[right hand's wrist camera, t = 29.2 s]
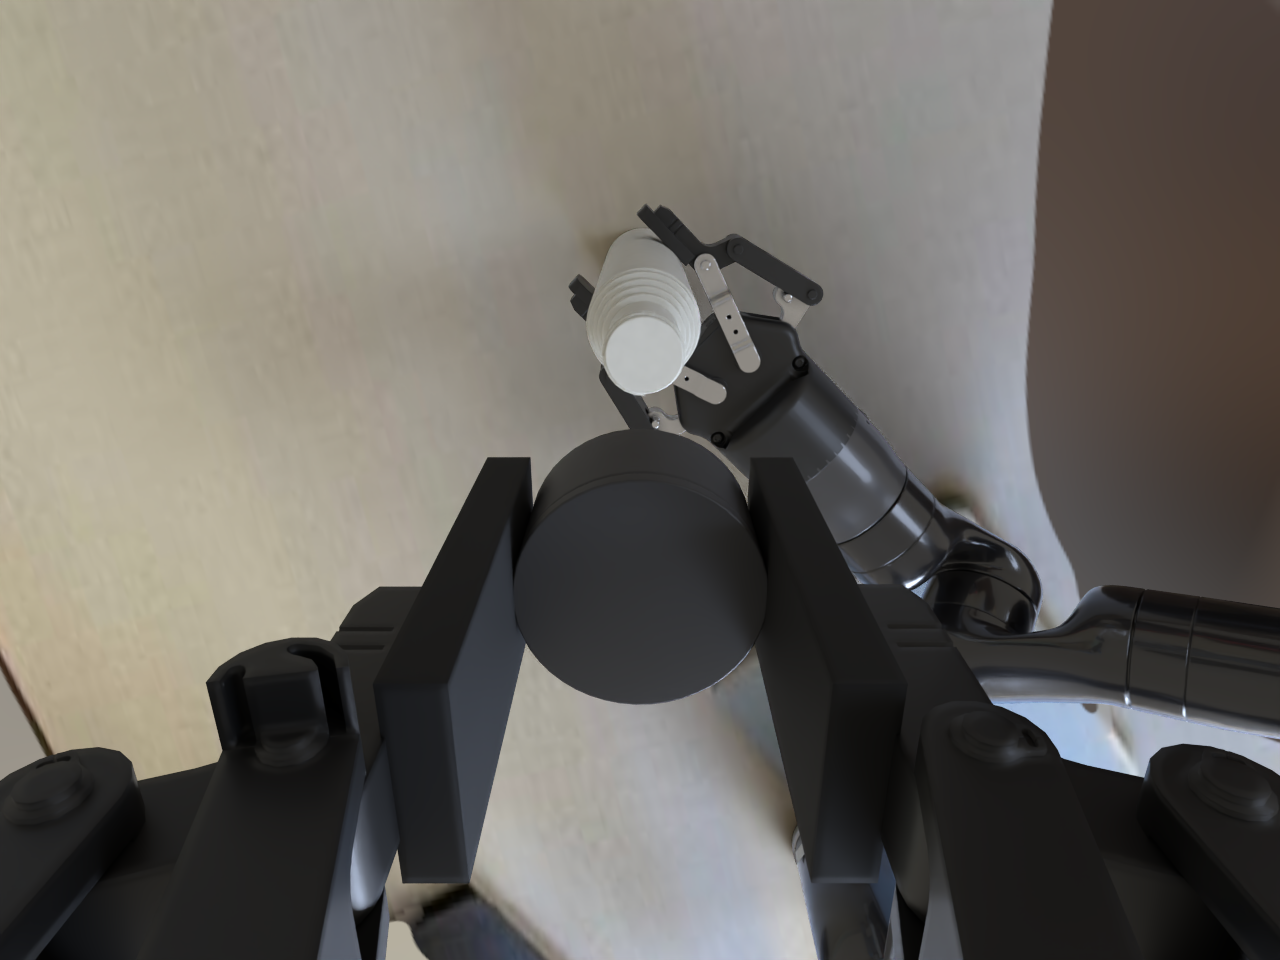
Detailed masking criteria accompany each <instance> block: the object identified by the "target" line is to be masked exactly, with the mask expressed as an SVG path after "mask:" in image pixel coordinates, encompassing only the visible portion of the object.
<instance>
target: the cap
mask: <svg viewBox="0 0 1280 960" xmlns="http://www.w3.org/2000/svg"><path fill="white" fill-rule="evenodd" d="M767 584H768V573H767V569H766V566H765V562H764V558H763V555H762V552H761V548H760V545H759V542H758V539H757V535H756V532H755V529H754V526H753V522H752V519H751V516H750V513H749V509H748V506H747V503H746V500H745V497H744V494H743V492H742V490H741V488H740V485H739V484H738V482H737V480H736V479H735V477H734V476H733V474H732V473H731V472H730V470H729V469H728V468H727V467H726V466H725V464H724V463H723V462H722V461H721V460H720V459H718V458H717V457H716V456H715V455H714V454H713V453H711V452H710V451H709V450H707V449H706V448H704V447H703V446H701V445H700V444H698V443H696V442H694V441H692V440H690V439H688V438H685V437H682V436H680V435H677V434H674V433H669V432H665V431H661V430H651V429H628V430H622V431H615V432H611V433H608V434H604V435H601V436H598V437H596V438H594V439H591V440H589V441H587V442H585V443H583V444H582V445H580V446H578V447H577V448H575V449H574V450H572V451H571V452H570V453H568V454H567V455H566V456H565V457H563V458H562V459H561V460H560V461H559V462H558V463H557V464H556V466H555V467H554V468H553V469H552V470H551V472H550V473H549V474H548V476H547V477H546V478H545V480H544V482H543V484H542V486H541V488H540V490H539V492H538V494H537V497H536V500H535V503H534V506H533V509H532V512H531V516H530V519H529V522H528V525H527V529H526V532H525V535H524V538H523V542H522V545H521V548H520V551H519V555H518V558H517V561H516V564H515V569H514V574H513V591H514V606H515V617H516V622H517V625H518V627H519V630H520V632H521V634H522V637H523V638H524V640H525V642H526V644H527V645H528V647H529V649H530V650H531V652H532V653H533V654H534V655H535V657H536V658H537V659H538V660H539V662H540V663H541V664H542V665H543V666H544V667H545V668H546V669H547V670H548V671H549V672H551V673H552V674H553V675H555V676H556V677H557V678H558V679H560V680H561V681H562V682H564V683H566V684H568V685H569V686H571V687H573V688H574V689H576V690H578V691H581V692H583V693H585V694H588V695H590V696H593V697H596V698H599V699H603V700H606V701H612V702H617V703H624V704H635V705H637V704H657V703H665V702H670V701H674V700H678V699H682V698H685V697H688V696H691V695H693V694H696V693H698V692H700V691H702V690H704V689H706V688H708V687H710V686H712V685H714V684H715V683H717V682H718V681H720V680H721V679H723V678H724V677H725V676H727V675H728V674H729V673H730V672H731V671H732V670H734V669H735V668H736V667H737V666H738V665H739V664H740V662H741V661H742V660H743V659H744V658H745V657H746V656H747V654H748V653H749V651H750V650H751V648H752V647H753V646H754V644H755V642H756V640H757V638H758V636H759V634H760V632H761V630H762V627H763V624H764V621H765V614H766V600H767Z"/></svg>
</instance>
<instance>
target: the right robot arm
mask: <svg viewBox="0 0 1280 960" xmlns="http://www.w3.org/2000/svg"><path fill="white" fill-rule="evenodd" d="M532 509H533V496H532V478H531V460H530V457H488V458H487V460H486V462H485V464H484V465H483V467H482V469H481V471H480V473H479V475H478V477H477V479H476V481H475V483H474V485H473V487H472V489H471V491H470V493H469V495H468V497H467V499H466V501H465V503H464V505H463V507H462V509H461V511H460V513H459V515H458V517H457V519H456V521H455V523H454V525H453V526H452V528H451V530H450V532H449V534H448V536H447V538H446V540H445V542H444V544H443V546H442V548H441V550H440V552H439V554H438V556H437V558H436V560H435V562H434V564H433V566H432V568H431V570H430V572H429V574H428V576H427V578H426V580H425V582H424V584H423V586H422V587H378V588H377V589H376V590H374V591H373V592H371V593H370V594H369V595H367V596H366V597H364V598H363V599H362V600H360V601H359V602H357V603H356V604H354V605H353V607H352V608H351V610H350V611H349V613H348V614H347V616H346V618H345V619H344V621H343V622H342V624H341V625H340V627H339V631H337V632H336V633H335V635H334V636H333V638H332V639H331V641H327V640H323V639H319V638H288V639H283V640H278V641H273V642H268V643H264V644H261V645H259V646H256V647H254V648H251V649H249V650H246V651H244V652H241V653H239V654H238V655H236V656H234V657H233V658H231V659H230V660H228V661H227V662H225V663H224V664H222V665H221V666H219V667H218V668H217V670H216V671H215V672H214V673H213V674H212V676H211V677H210V678H209V679H208V680H207V682H206V685H207V689H208V693H209V697H210V701H211V705H212V710H213V714H214V718H215V722H216V726H217V730H218V734H219V738H220V742H221V746H222V750H223V751H222V753H221V756H220V758H219V761H218V762H216V763H212V764H209V765H206V766H202V767H199V768H195V769H190V770H186V771H181V772H177V773H172V774H167V775H163V776H158V777H154V778H149V779H144V780H140V781H137V778H136V775H135V772H134V768H133V765H132V762H131V761H130V760H129V759H128V758H127V757H126V756H125V755H123V754H122V753H121V752H120V751H116V750H111V749H106V748H101V747H95V748H85V749H75V750H69V751H66V752H62V753H57V754H56V755H51V756H48V757H45V758H42V759H39V760H37V761H35V762H33V763H31V764H29V765H27V766H25V767H23V768H21V769H19V770H17V771H15V772H13V773H11V774H9V775H8V776H6V777H5V778H4V779H2V780H1V781H0V960H385V957H386V947H387V937H388V928H389V918H390V917H389V910H388V903H387V896H386V890H385V883H386V880H387V877H388V874H389V871H390V868H391V866H392V863H393V860H394V857H395V854H396V851H397V849H398V856H399V862H400V869H401V876H402V882H403V883H469V882H470V878H471V874H472V870H473V865H474V861H475V857H476V853H477V848H478V844H479V840H480V836H481V831H482V827H483V823H484V819H485V814H486V810H487V806H488V802H489V797H490V793H491V789H492V785H493V780H494V776H495V772H496V768H497V763H498V759H499V755H500V751H501V746H502V742H503V738H504V733H505V729H506V725H507V721H508V716H509V712H510V708H511V704H512V699H513V695H514V691H515V687H516V682H517V678H518V674H519V670H520V665H521V661H522V657H523V653H524V648H525V644H526V642H525V640H524V638H523V637H522V634H521V632H520V630H519V627H518V625H517V622H516V617H515V606H514V591H513V574H514V569H515V564H516V561H517V558H518V555H519V551H520V548H521V545H522V542H523V538H524V535H525V532H526V529H527V525H528V522H529V519H530V516H531V512H532ZM748 509H749V513H750V516H751V519H752V522H753V526H754V529H755V532H756V535H757V539H758V542H759V545H760V548H761V552H762V555H763V558H764V562H765V566H766V569H767V573H768V584H767V600H766V614H765V621H764V624H763V627H762V630H761V632H760V634H759V636H758V638H757V640H756V642H755V646H756V650H757V655H758V659H759V663H760V667H761V672H762V676H763V680H764V684H765V689H766V693H767V697H768V702H769V706H770V710H771V714H772V719H773V723H774V727H775V731H776V736H777V740H778V744H779V748H780V753H781V757H782V761H783V765H784V770H785V774H786V778H787V782H788V787H789V791H790V795H791V799H792V804H793V808H794V812H795V816H796V821H797V825H798V829H799V833H800V838H801V842H802V846H803V850H804V855H805V859H806V863H807V867H808V872H809V876H810V880H811V883H878V879H879V872H880V866H881V859H882V853H883V846H884V849H885V851H886V854H887V857H888V860H889V863H890V866H891V868H892V871H893V874H894V877H895V880H896V884H895V890H894V896H893V903H892V909H891V915H890V921H889V927H888V933H887V940H886V946H885V952H884V959H883V960H1280V776H1279V775H1278V774H1277V773H1275V772H1274V771H1272V770H1270V769H1268V768H1266V767H1264V766H1262V765H1260V764H1258V763H1256V762H1254V761H1252V760H1250V759H1248V758H1246V757H1244V756H1241V755H1238V754H1236V753H1233V752H1230V751H1229V752H1228V751H1225V750H1222V749H1218V748H1214V747H1211V746H1201V745H1191V744H1179V745H1174V746H1169V747H1164V748H1161V749H1160V750H1159V751H1158V752H1157V753H1156V754H1155V755H1153V756H1152V757H1151V758H1150V761H1149V764H1148V767H1147V771H1146V774H1145V777H1144V778H1143V777H1138V776H1134V775H1129V774H1124V773H1120V772H1115V771H1110V770H1106V769H1101V768H1097V767H1092V766H1087V765H1084V764H1080V763H1077V762H1073V761H1070V760H1066V759H1063V758H1061V757H1060V754H1059V752H1058V750H1057V748H1056V747H1055V745H1054V744H1053V743H1052V741H1051V740H1050V738H1049V737H1048V735H1047V734H1046V733H1045V732H1044V731H1043V730H1041V729H1040V728H1039V727H1037V726H1036V725H1035V724H1033V723H1032V722H1031V721H1029V720H1028V719H1027V718H1025V717H1023V716H1021V715H1018V714H1016V713H1014V712H1012V711H1010V710H1007V709H1005V708H1003V707H1000V706H995V705H993V703H992V702H991V700H990V699H989V697H988V695H987V694H986V692H985V691H984V689H983V688H982V686H981V685H980V683H979V682H978V680H977V678H976V677H975V675H974V674H973V672H972V671H971V669H970V668H969V666H968V664H967V663H966V661H965V660H964V658H963V657H962V655H961V654H960V652H959V651H958V649H957V647H953V641H952V640H951V638H950V637H949V635H948V633H947V632H946V630H945V629H942V624H941V623H940V621H939V620H938V618H937V616H936V615H935V613H934V612H933V610H932V609H931V607H930V606H929V604H928V603H927V602H926V601H924V600H923V599H922V598H920V597H919V596H917V595H916V594H915V593H913V592H912V591H910V590H909V589H907V588H906V587H905V586H903V585H902V584H857V582H856V580H855V578H854V577H853V575H852V573H851V571H850V569H849V567H848V565H847V563H846V561H845V559H844V557H843V555H842V553H841V551H840V549H839V547H838V545H837V543H836V541H835V539H834V537H833V535H832V533H831V531H830V529H829V527H828V525H827V523H826V521H825V519H824V518H823V516H822V514H821V512H820V510H819V508H818V506H817V504H816V502H815V500H814V498H813V496H812V494H811V492H810V490H809V488H808V486H807V484H806V482H805V480H804V478H803V476H802V474H801V472H800V470H799V468H798V466H797V464H796V462H795V460H794V459H793V457H750V470H749V488H748Z"/></svg>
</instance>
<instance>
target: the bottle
mask: <svg viewBox="0 0 1280 960" xmlns="http://www.w3.org/2000/svg"><path fill="white" fill-rule="evenodd" d="M700 328H701V320H700V313H699V309H698V305H697V302H696V300H695V297H694V295H693V292H692V290H691V287H690V285H689V282H688V279H687V277H686V274H685V272H684V269H683V267H682V264H681V262H680V259H679V258H678V257H677V256H676V255H675V254H674V253H673V252H672V251H671V250H670V249H669V248H668V247H667V246H666V245H665V244H664V243H663V242H662V241H661V240H660V239H659V238H658V236H657V235H656V234H655V233H654V232H653V231H652V230H651V229H648V228H637V229H632V230H629V231H627V232H625V233H623V234H622V235H620V236H619V237H618V238H617V239H616V240H615V241H614V242H613V244H612V245H611V247H610V249H609V251H608V253H607V256H606V259H605V262H604V265H603V268H602V271H601V274H600V276H599V279H598V282H597V285H596V288H595V291H594V294H593V297H592V300H591V303H590V306H589V309H588V313H587V319H586V329H587V336H588V340H589V343H590V346H591V348H592V350H593V352H594V354H595V355H596V357H597V358H598V360H599V361H600V362H601V364H602V365H603V366H604V368H605V370H606V372H607V374H608V377H609V378H610V379H611V380H612V381H613V383H614V384H615V385H616V386H618V387H619V388H621V389H622V390H623V391H625V392H628V393H631V394H633V395H639V396H645V394H650V393H655V392H658V391H660V390H662V389H664V388H666V387H667V386H669V385H670V384H671V383H673V382H674V381H675V380H676V378H677V377H678V376H679V374H680V373H681V371H682V368H683V366H684V365H685V363H686V362H687V361H688V360H689V358H690V357H691V355H692V354H693V352H694V350H695V348H696V346H697V343H698V340H699V336H700Z"/></svg>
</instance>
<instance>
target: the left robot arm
mask: <svg viewBox="0 0 1280 960" xmlns="http://www.w3.org/2000/svg"><path fill="white" fill-rule="evenodd" d="M637 215H638V216H639V218H640V219H641V220H642V221H643V222H644V223H645V224H646V225H647V226H648V227H649V228H650V229H651V230H652V231H653V232H654V233H655V234H656V235H657V236H658V238H659V239H660V240H661V241H662V242H663V243H664V244H665V245H666V246H667V247H668V248H669V249H670V250H671V251H672V252H673V253H674V254H675V255H676V256H677V257H678V258H679V259H680V260H681V262H682V263H683V264H684V265H685V266H686V265H687V264H688V263H689V264H690V265H691V267H692V268H693V269H694V270H695V271H696V273H697V276H698V278H699V280H700V282H701V284H702V286H703V289H704V291H705V293H706V295H707V297H708V300H709V302H710V304H711V306H712V308H713V311H714V313H715V314H714V313H712V314H711V315H710V316H709V317H708V318H707V319H706V320H705V321H704V322H703V324H702V325H701V328H700V336H699V340H698V343H697V346H696V348H695V350H694V352H693V354H692V355H691V357H690V358H689V360H688V361H687V362H686V363H685V365H684V366H683V368H682V371H681V373H680V374H679V376H678V377H677V378H676V380H675V381H674V382H673V383H672V384H674V391H675V397H676V404H677V411H678V414H677V415H668V414H666V413H665V412H664V411H663V410H662V409H661V408H659V407H651V408H648V407H647V405H646V404H645V402H644V400H643V399H642V397H641V396H639V395H633V394H631V393H628V392H625V391H623V390H622V389H621V388H619V387H618V386H616V385H615V384H614V383H613V381H612V380H611V379H610V378H609V377H608V374H607V372H606V370H605V368H604V366H603V365H602V364H601V370H600V374H599V379H600V381H601V383H602V385H603V386H604V388H605V389H606V391H607V393H608V394H609V396H610V397H611V399H612V401H613V402H614V404H615V406H616V407H617V409H618V410H619V412H620V414H621V415H622V417H623V418H624V420H625V422H626V423H627V425H628V427H629V428H630V429H651V430H661V431H665V432H669V433H674V434H677V435H680V434H682V433H683V432H685V431H687V432H689V433H690V434H693V435H698V436H701V437H703V438H705V439H707V440H708V441H709V442H711V443H712V444H713V445H714V446H715V447H716V448H717V449H718V450H719V451H720V452H721V453H722V454H723V455H724V456H725V457H726V458H727V459H728V460H729V461H730V462H731V463H732V464H733V465H734V466H735V467H737V468H738V469H739V470H740V471H741V472H742V473H743V474H744V475H745V476H746V477H747V478H748V479H749V470H750V457H793V459H794V460H795V462H796V464H797V466H798V468H799V470H800V472H801V474H802V476H803V478H804V480H805V482H806V484H807V486H808V488H809V490H810V492H811V494H812V496H813V498H814V500H815V502H816V504H817V506H818V508H819V510H820V512H821V514H822V516H823V518H824V519H825V521H826V523H827V525H828V527H829V529H830V531H831V533H832V535H833V537H834V539H835V541H836V543H837V545H838V547H839V549H840V551H841V553H842V555H843V557H844V559H845V561H846V563H847V565H848V567H849V569H850V571H851V573H852V574H853V575H854V576H855V577H856V578H857V579H858V580H859V581H860V582H861V583H863V584H902V585H903V586H905V587H906V588H907V589H909V590H910V591H911V590H913V589H915V588H917V587H919V586H920V585H922V584H923V583H925V582H926V581H927V580H928V582H927V585H926V587H925V590H924V592H923V595H922V597H921V598H922V599H923V600H924V601H926V602H927V603H928V604H929V606H930V607H931V609H932V610H933V612H934V613H935V615H936V616H937V618H938V620H939V621H940V623H941V624H942V629H945V630H946V632H947V633H948V635H949V637H950V638H951V640H952V641H953V647H957V649H958V651H959V652H960V654H961V655H962V657H963V658H964V660H965V661H966V663H967V664H968V666H969V668H970V669H971V671H972V672H973V674H974V675H975V677H976V678H977V680H978V682H979V683H980V685H981V686H982V688H983V689H984V691H985V692H986V694H987V695H988V697H989V699H990V700H991V702H992V703H993V704H1006V703H1099V704H1109V705H1114V706H1119V707H1123V708H1127V709H1131V708H1132V709H1133V710H1137V711H1141V712H1145V713H1150V714H1154V715H1159V716H1163V717H1168V718H1172V719H1177V720H1181V721H1185V722H1186V721H1187V722H1189V723H1194V724H1199V725H1204V726H1209V727H1214V728H1219V729H1224V730H1229V731H1234V732H1240V733H1245V734H1251V735H1257V736H1263V737H1269V738H1276V739H1280V608H1273V607H1267V606H1260V605H1253V604H1246V603H1240V602H1233V601H1226V600H1220V599H1213V598H1206V597H1199V596H1191V595H1184V594H1177V593H1170V592H1163V591H1156V590H1149V589H1148V590H1145V589H1141V588H1134V587H1127V586H1117V585H1102V586H1098V587H1095V588H1093V589H1091V590H1090V591H1088V592H1087V593H1086V595H1085V596H1084V597H1083V598H1082V599H1081V601H1080V602H1079V604H1078V605H1077V607H1076V608H1075V610H1074V611H1073V613H1072V614H1071V615H1070V617H1069V618H1068V619H1067V620H1066V621H1065V622H1064V623H1062V624H1061V625H1060V626H1058V627H1056V628H1053V629H1049V630H1043V631H1037V632H1033V631H1034V628H1035V624H1036V621H1037V618H1038V615H1039V611H1040V608H1041V604H1042V598H1043V589H1042V584H1041V580H1040V578H1039V575H1038V573H1037V571H1036V569H1035V567H1034V565H1033V564H1032V562H1031V561H1030V560H1029V558H1028V557H1027V556H1026V555H1025V554H1024V553H1023V552H1022V551H1021V550H1019V549H1018V548H1017V547H1015V546H1013V545H1012V544H1010V543H1009V542H1007V541H1005V540H1003V539H1001V538H1000V537H998V536H996V535H994V534H993V533H991V532H989V531H987V530H985V529H984V528H982V527H980V526H979V525H977V524H975V523H974V522H972V521H970V520H969V519H967V518H965V517H963V516H962V515H960V514H958V513H956V512H955V511H953V510H951V509H949V508H948V507H946V506H945V505H943V504H941V503H940V502H939V501H938V500H937V499H936V497H935V496H934V495H933V494H932V493H931V492H930V491H929V490H928V489H927V488H926V487H925V486H924V485H923V484H922V483H921V482H920V481H919V480H918V479H917V477H916V476H915V475H914V474H913V473H912V472H911V471H910V470H909V469H908V468H907V467H906V466H905V465H904V464H903V462H902V461H901V460H900V459H899V457H898V456H897V455H896V453H895V452H894V450H893V449H892V447H891V446H890V445H889V443H888V442H887V440H886V439H885V438H884V436H883V435H882V434H881V433H880V432H879V431H878V429H877V428H876V427H875V426H874V425H873V424H872V423H871V422H870V421H869V419H868V418H867V416H866V415H865V414H864V413H863V412H862V411H861V410H859V409H858V408H857V407H856V406H855V405H854V404H853V403H852V402H851V401H850V400H849V399H848V398H847V397H846V396H845V394H844V393H843V392H842V391H841V390H840V389H839V388H838V387H837V386H836V385H835V384H834V383H833V382H832V381H831V380H830V379H829V377H828V376H827V375H826V374H825V373H824V372H823V371H822V370H821V369H820V368H819V367H818V366H817V365H816V364H815V363H814V362H813V360H812V359H811V358H810V357H809V356H808V355H807V354H806V353H805V352H804V351H803V350H802V348H801V346H800V343H799V339H798V334H797V332H796V330H795V328H796V327H797V325H798V324H799V322H800V321H801V319H802V317H803V316H804V314H805V313H806V311H807V310H808V308H809V307H810V306H813V305H816V304H818V303H819V302H820V301H821V300H822V297H823V290H822V288H821V287H820V286H819V285H818V284H817V283H815V282H814V281H812V280H811V279H809V278H808V277H806V276H805V275H803V274H801V273H800V272H798V271H796V270H795V269H793V268H792V267H790V266H788V265H787V264H785V263H783V262H782V261H780V260H779V259H777V258H775V257H774V256H772V255H770V254H769V253H767V252H766V251H764V250H762V249H761V248H759V247H757V246H756V245H754V244H753V243H751V242H749V241H748V240H746V239H744V238H743V237H741V236H740V235H738V234H730V235H728V236H727V237H726V238H724V239H722V240H720V241H718V242H716V243H714V244H704V243H702V242H700V241H699V240H698V239H697V238H696V237H695V236H694V235H693V234H692V233H691V232H690V230H689V229H688V228H687V227H686V226H685V225H684V224H683V223H682V222H681V221H680V220H679V219H678V218H677V217H676V216H675V215H674V213H673V212H672V211H671V210H670V209H668V208H666V207H664V206H662V205H659V206H658V208H657V209H656V210H655V211H653V210H652V209H651V208H650V207H649V206H648V205H647V204H645V205H644V206H643V207H642V208H641V209H640V210H639V211H638V212H637ZM734 262H737V263H739V264H740V265H742V266H744V267H745V268H747V269H749V270H750V271H752V272H754V273H755V274H757V275H758V276H760V277H762V278H763V279H765V280H767V281H768V282H770V283H772V284H773V285H775V286H776V287H775V288H774V290H773V298H774V300H775V301H776V302H777V303H778V304H779V305H780V307H781V315H780V317H779V318H778V317H772V316H766V315H759V314H753V313H746V312H740V311H738V308H737V306H736V304H735V302H734V299H733V297H732V295H731V293H730V291H729V289H728V287H727V284H726V282H725V280H724V278H723V275H722V273H721V271H720V269H721V268H723V267H725V266H728V265H730V264H732V263H734ZM569 288H570V290H571V291H572V292H573V293H574V294H575V295H574V296H573V297H572V299H571V304H572V306H573V308H574V310H575V311H576V312H577V313H578V314H579V315H580V316H581V317H582V318H583V319H584V320H585V321H586V319H587V313H588V309H589V306H590V303H591V300H592V297H593V294H594V291H595V288H594V287H593V286H592V285H591V284H590V283H589V282H588V281H587V280H586V279H585V278H584V277H582V276H581V275H580V274H579V275H578V276H577V277H576V278H575V279H574V280H573V281H572V282H571V283H570V285H569ZM792 849H793V854H794V859H795V862H796V864H797V867H798V871H799V876H800V880H801V885H802V890H803V895H804V899H805V903H806V908H807V912H808V917H809V921H810V926H811V930H812V935H813V939H814V944H815V948H816V952H817V957H818V960H883V959H884V952H885V946H886V940H887V933H888V927H889V921H890V915H891V909H892V903H893V896H894V890H895V884H896V880H895V877H894V874H893V871H892V868H891V866H890V863H889V860H888V857H887V854H886V851H885V849H884V846H883V853H882V859H881V866H880V872H879V879H878V883H811V880H810V876H809V872H808V867H807V863H806V859H805V855H804V850H803V846H802V842H801V838H800V833H799V829H798V825H797V826H796V828H795V830H794V833H793V837H792Z"/></svg>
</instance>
